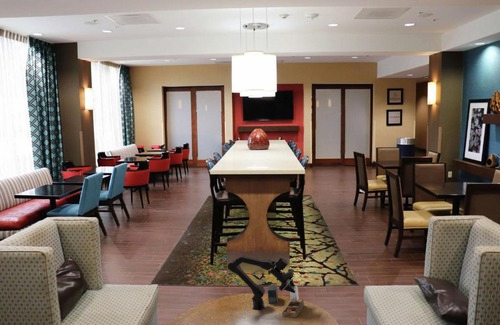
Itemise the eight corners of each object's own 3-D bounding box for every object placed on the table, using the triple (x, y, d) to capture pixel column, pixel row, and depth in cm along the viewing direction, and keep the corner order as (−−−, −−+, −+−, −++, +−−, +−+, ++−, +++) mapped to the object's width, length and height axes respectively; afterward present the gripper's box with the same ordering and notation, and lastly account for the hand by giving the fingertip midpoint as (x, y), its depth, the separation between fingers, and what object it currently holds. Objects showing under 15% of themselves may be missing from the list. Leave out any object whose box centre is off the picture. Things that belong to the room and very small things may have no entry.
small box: (269, 299, 321) (267, 284, 320) (278, 298, 320) (276, 284, 319) (268, 304, 310) (267, 290, 310) (277, 304, 310) (276, 289, 309)
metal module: (290, 301, 297) (289, 288, 296) (292, 298, 301) (291, 285, 301) (297, 301, 295) (295, 288, 295) (298, 299, 300) (297, 286, 299)
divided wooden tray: (282, 317, 287) (281, 309, 287) (290, 305, 305) (289, 298, 305) (296, 318, 284) (296, 310, 283) (304, 306, 302) (303, 298, 301)
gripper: (282, 271, 289) (299, 288, 286) (289, 262, 307) (306, 278, 304) (271, 282, 293) (289, 299, 290) (280, 273, 310) (296, 289, 307)
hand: (295, 291), depth 297 cm, fingers closed on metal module, 4 cm apart
